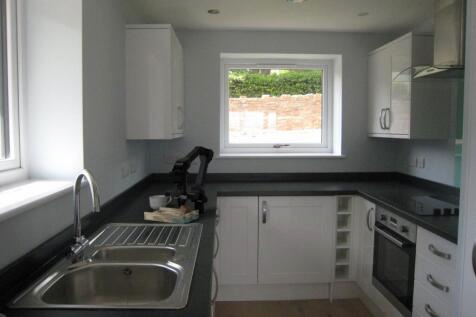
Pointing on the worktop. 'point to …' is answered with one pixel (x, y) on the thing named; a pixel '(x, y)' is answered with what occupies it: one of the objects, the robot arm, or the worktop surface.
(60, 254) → the worktop surface
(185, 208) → the walnut block
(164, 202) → the teacup
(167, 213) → the track
